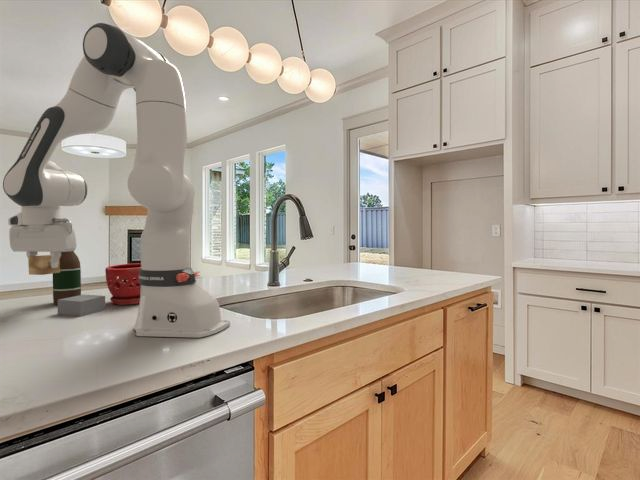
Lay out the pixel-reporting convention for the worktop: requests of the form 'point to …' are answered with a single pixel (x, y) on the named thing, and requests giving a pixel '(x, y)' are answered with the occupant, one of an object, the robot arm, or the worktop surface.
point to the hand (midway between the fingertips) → (44, 267)
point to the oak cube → (41, 265)
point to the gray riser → (81, 305)
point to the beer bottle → (67, 277)
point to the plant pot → (124, 283)
